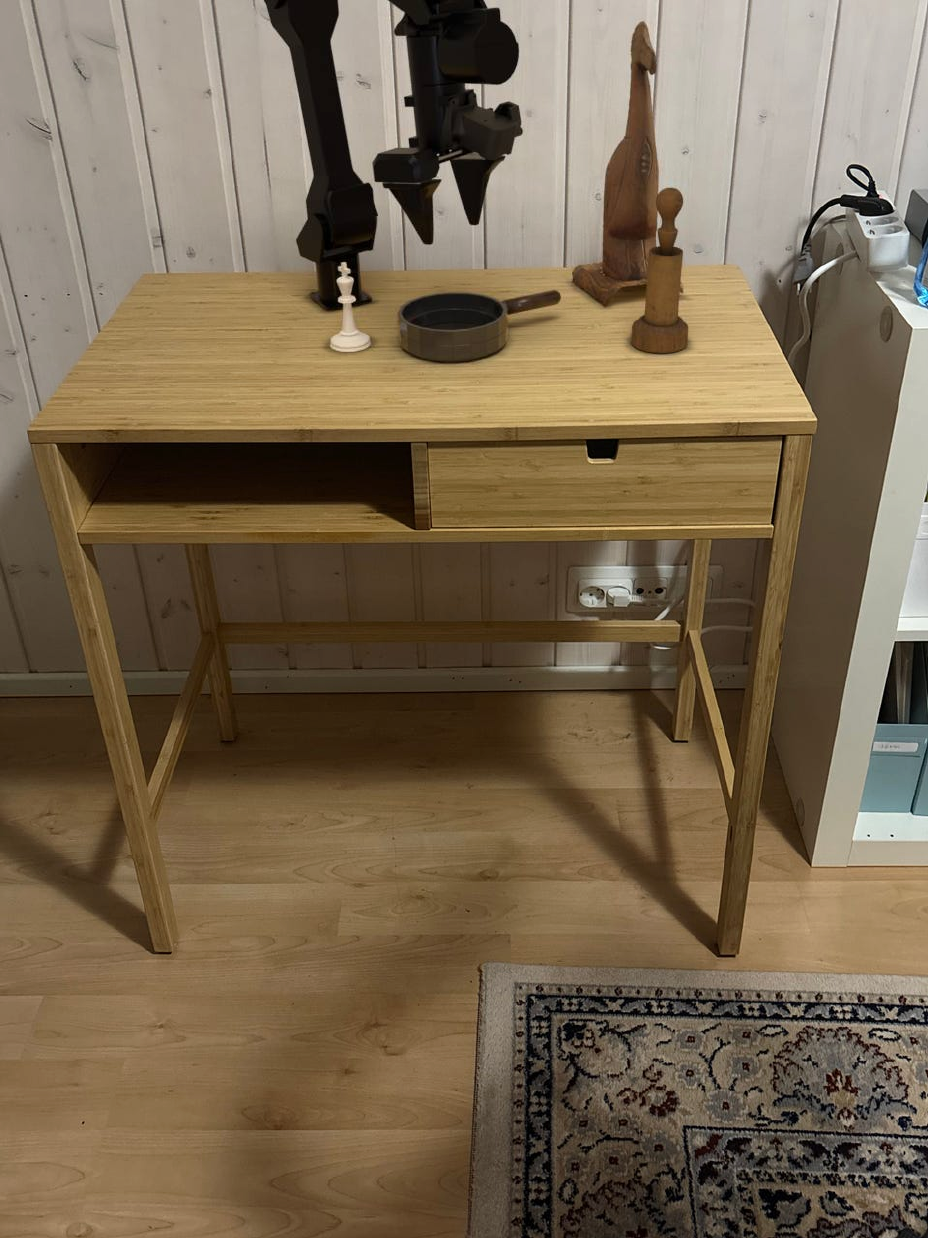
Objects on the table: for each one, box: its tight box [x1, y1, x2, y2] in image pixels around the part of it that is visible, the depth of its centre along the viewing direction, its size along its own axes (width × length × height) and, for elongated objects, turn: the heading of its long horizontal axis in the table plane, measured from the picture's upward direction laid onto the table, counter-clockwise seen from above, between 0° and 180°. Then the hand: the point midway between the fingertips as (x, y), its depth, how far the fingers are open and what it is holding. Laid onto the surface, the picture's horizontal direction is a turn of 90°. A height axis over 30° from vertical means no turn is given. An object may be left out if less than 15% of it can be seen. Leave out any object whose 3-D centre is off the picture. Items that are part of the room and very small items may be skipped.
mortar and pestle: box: [630, 187, 689, 354], centre depth 136 cm, size 7×6×18 cm
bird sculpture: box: [571, 20, 684, 305], centre depth 147 cm, size 11×12×32 cm
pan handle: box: [494, 289, 562, 316], centre depth 145 cm, size 9×2×2 cm, turn 118°
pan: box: [397, 291, 509, 363], centre depth 141 cm, size 13×13×4 cm
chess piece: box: [329, 262, 372, 353], centre depth 140 cm, size 5×5×10 cm
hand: (451, 234), depth 132 cm, fingers open, 9 cm apart
